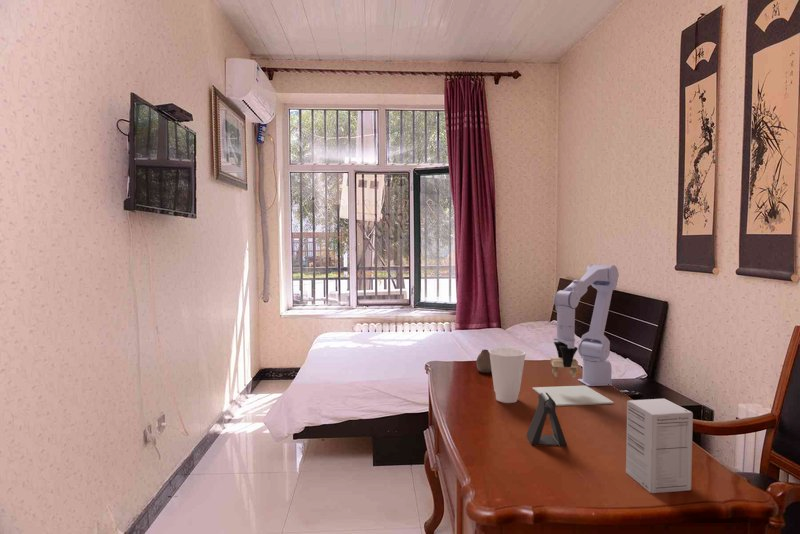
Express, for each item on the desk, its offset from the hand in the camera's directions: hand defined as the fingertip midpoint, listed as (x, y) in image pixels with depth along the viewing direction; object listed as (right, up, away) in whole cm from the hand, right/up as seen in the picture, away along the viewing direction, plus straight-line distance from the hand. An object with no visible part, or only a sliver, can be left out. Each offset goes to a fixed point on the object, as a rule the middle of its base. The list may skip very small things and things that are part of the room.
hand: (564, 364), depth 163 cm
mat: (+1, -10, -2) cm, 10 cm away
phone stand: (-18, -12, -39) cm, 44 cm away
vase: (-22, -9, +28) cm, 37 cm away
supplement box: (-1, -13, -60) cm, 61 cm away
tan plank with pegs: (0, -4, 0) cm, 4 cm away
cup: (-21, -11, -6) cm, 25 cm away
